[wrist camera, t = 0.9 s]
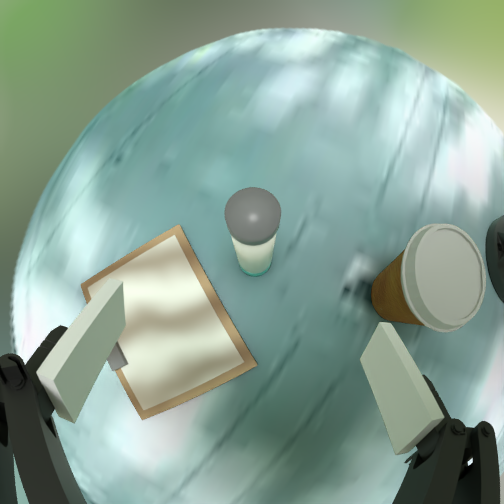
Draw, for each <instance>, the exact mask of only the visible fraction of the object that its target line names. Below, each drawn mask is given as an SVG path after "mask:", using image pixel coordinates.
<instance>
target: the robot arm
mask: <svg viewBox="0 0 504 504" xmlns="http://www.w3.org/2000/svg"><path fill="white" fill-rule="evenodd" d="M486 256H487V264H488V269H489V273H490V277H491V280H492V283H493V285H494V287H495V290H496V292H497V293H498V295H499V297H500V298H501V299H502V301H503V302H504V215H503V216H501V217H500V218H498V219H496V220H495V221H494V222H493V223H492V224H491V226H490V228H489V230H488V234H487V240H486ZM125 326H126V321H125V308H124V292H123V281H119V280H115V279H111V278H109V279H108V280H107V282H106V283H105V284H104V285H103V286H102V287H101V289H100V290H99V291H98V292H97V293H96V294H95V296H94V297H93V298H92V299H91V300H90V302H89V303H88V304H87V305H86V307H85V308H84V309H83V310H82V311H81V313H80V314H79V315H78V316H77V318H76V319H75V320H74V321H73V323H72V324H71V325H70V327H69V328H67V327H64V326H61V325H60V326H59V327H57V328H55V329H54V330H52V331H51V332H50V333H49V334H48V336H47V337H46V338H45V340H44V341H43V342H42V343H41V345H40V347H38V348H37V350H36V351H35V352H34V354H33V355H32V356H31V358H30V359H29V360H28V362H27V363H26V364H24V362H23V359H22V358H21V357H20V356H18V355H16V354H5V355H3V356H1V357H0V504H18V502H17V496H16V486H15V476H14V458H13V453H14V457H15V461H16V465H17V468H18V472H19V475H20V478H21V481H22V484H23V488H24V490H25V493H26V496H27V499H28V501H29V504H87V503H86V501H85V499H84V497H83V495H82V493H81V491H80V489H79V486H78V484H77V482H76V480H75V478H74V475H73V473H72V471H71V468H70V466H69V463H68V461H67V458H66V456H65V453H64V450H63V448H62V445H61V442H60V439H59V436H58V433H57V430H56V426H55V423H54V420H53V417H52V413H53V411H54V409H55V410H56V412H57V414H58V416H59V417H61V418H63V419H66V420H68V421H70V422H72V423H75V422H76V420H77V418H78V416H79V414H80V411H81V409H82V407H83V405H84V403H85V401H86V399H87V397H88V395H89V393H90V391H91V389H92V387H93V385H94V383H95V381H96V379H97V377H98V375H99V373H100V371H101V370H102V368H103V366H104V364H105V362H106V360H107V358H108V356H109V355H110V353H111V351H112V349H113V347H114V346H115V344H116V342H117V340H118V338H119V337H120V335H121V333H122V331H123V330H124V328H125ZM360 361H361V364H362V366H363V369H364V371H365V374H366V376H367V379H368V381H369V384H370V386H371V389H372V391H373V394H374V397H375V399H376V402H377V405H378V407H379V410H380V413H381V415H382V418H383V421H384V424H385V426H386V429H387V432H388V435H389V438H390V441H391V444H392V446H393V449H394V452H395V455H399V454H403V453H407V452H409V451H410V450H411V449H413V448H414V447H415V446H416V447H417V449H418V450H417V451H416V452H415V453H414V454H413V455H411V456H410V457H409V458H408V459H407V460H406V461H405V462H404V463H407V462H409V461H410V460H411V459H412V460H411V463H410V464H409V468H408V470H407V473H406V475H405V478H404V480H403V482H402V484H401V487H400V489H399V491H398V493H397V495H396V497H395V499H394V501H393V503H392V504H500V476H499V463H498V453H497V445H496V438H495V432H494V429H493V427H492V425H491V424H490V423H488V422H486V421H481V422H480V423H479V424H478V425H477V426H476V427H475V428H469V427H465V425H464V424H463V422H462V421H460V420H459V419H455V418H454V419H451V417H450V415H449V413H448V412H447V410H446V408H445V406H444V404H443V402H442V400H441V398H440V397H439V395H438V393H437V391H435V388H434V386H433V384H432V382H431V381H430V380H429V379H428V378H427V377H426V376H425V375H422V374H421V373H420V371H419V369H418V367H417V366H416V364H415V362H414V360H413V359H412V357H411V355H410V354H409V352H408V350H407V349H406V347H405V345H404V344H403V342H402V340H401V339H400V337H399V335H398V334H397V332H396V331H395V329H394V327H393V326H392V324H391V323H387V322H379V324H378V326H377V328H376V330H375V332H374V334H373V335H372V337H371V339H370V341H369V343H368V345H367V347H366V349H365V351H364V352H363V354H362V356H361V358H360ZM471 458H473V463H472V464H470V465H469V466H468V461H469V460H470V459H471Z"/></svg>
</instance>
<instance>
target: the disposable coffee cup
mask: <svg viewBox="0 0 504 504" xmlns="http://www.w3.org/2000/svg"><path fill="white" fill-rule="evenodd" d="M485 289H486V273H485V267H484V262H483V259H482V256H481V254H480V252H479V249H478V247H477V245H476V244H475V243H474V241H473V240H472V239H471V237H470V236H469V235H468V234H467V233H466V232H465V231H463V230H462V229H460V228H458V227H457V226H454V225H451V224H430V225H426V226H424V227H422V228H420V229H419V230H418V231H417V232H416V233H415V234H414V235H413V236H412V237H411V239H410V240H409V242H408V244H407V246H406V248H405V250H404V251H403V252H402V253H401V254H400V255H399V256H398V257H397V258H396V259H395V260H394V261H393V262H392V263H391V264H389V266H387V267H386V268H385V269H384V270H383V271H382V272H381V273H380V274H379V275H378V276H377V277H376V279H375V280H374V282H373V285H372V289H371V299H372V303H373V306H374V308H375V310H376V311H377V313H378V314H379V315H380V316H381V317H382V318H384V319H386V320H389V321H396V322H402V323H409V324H416V325H423V326H426V327H428V328H431V329H433V330H435V331H438V332H451V331H455V330H457V329H459V328H461V327H462V326H463V325H465V324H466V323H467V322H468V321H469V320H470V319H471V318H473V317H474V315H475V314H476V313H477V311H478V310H479V308H480V306H481V304H482V302H483V298H484V293H485Z"/></svg>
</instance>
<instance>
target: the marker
mask: <svg viewBox="0 0 504 504" xmlns="http://www.w3.org/2000/svg"><path fill="white" fill-rule="evenodd" d="M280 218H281V208H280V204H279V202H278V200H277V199H276V198H275V196H274V195H273V194H271V193H270V192H268V191H267V190H264V189H261V188H256V187H250V188H245V189H242V190H240V191H238V192H236V193H235V194H233V195H232V196H231V198H230V199H229V200H228V202H227V204H226V207H225V220H226V223H227V227H228V230H229V232H230V234H231V236H232V240H233V244H234V247H235V251H236V254H237V258H238V262H239V265H240V268H241V269H242V271H243V272H244V273H246V274H247V275H250V276H260V275H263V274H264V273H266V272H267V271H268V269H269V268H270V265H271V261H272V255H273V250H274V244H275V238H276V233H277V231H278V228H279V224H280Z"/></svg>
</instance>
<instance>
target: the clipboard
mask: <svg viewBox="0 0 504 504" xmlns="http://www.w3.org/2000/svg"><path fill="white" fill-rule="evenodd" d="M109 278H111V279H115V280H119V281H123V292H124V308H125V321H126V326H125V328H124V330H123V331H122V333H121V335H120V337H119V338H118V340H117V342H116V344H115V346H114V347H113V349H112V351H111V353H110V355H109V356H108V358H107V361H108V363H109V365H110V367H111V369H112V371H116V373H117V375H118V377H119V379H120V381H121V383H122V385H123V387H124V389H125V391H126V393H127V395H128V397H129V398H130V400H131V402H132V404H133V405H134V407H135V409H136V411H137V412H138V414H139V416H140V417H141V419H142V420H144V419H146V418H149V417H151V416H154V415H156V414H159V413H161V412H163V411H166V410H168V409H170V408H173V407H175V406H177V405H179V404H182V403H184V402H186V401H188V400H190V399H193V398H195V397H197V396H199V395H201V394H203V393H205V392H207V391H209V390H211V389H213V388H216V387H218V386H220V385H221V384H223V383H225V382H227V381H229V380H231V379H233V378H235V377H237V376H239V375H241V374H243V373H245V372H246V371H248V370H250V369H252V368H254V367H256V366H257V365H258V364H257V363H256V361H255V359H254V358H253V356H252V354H251V353H250V351H249V349H248V348H247V346H246V344H245V343H244V341H243V339H242V337H241V336H240V334H239V332H238V331H237V329H236V327H235V325H234V324H233V322H232V320H231V319H230V317H229V315H228V313H227V312H226V310H225V308H224V306H223V304H222V303H221V301H220V299H219V297H218V296H217V294H216V292H215V290H214V288H213V286H212V285H211V283H210V281H209V279H208V277H207V275H206V274H205V272H204V270H203V268H202V266H201V264H200V262H199V261H198V259H197V257H196V255H195V253H194V251H193V249H192V247H191V245H190V243H189V242H188V240H187V238H186V236H185V234H184V232H183V230H182V228H181V226H180V225H177V226H175V227H173V228H172V229H170V230H168V231H166V232H165V233H163V234H161V235H159V236H158V237H156V238H154V239H153V240H151V241H149V242H148V243H146V244H144V245H143V246H141V247H139V248H138V249H136V250H134V251H133V252H131V253H129V254H128V255H126V256H124V257H123V258H121V259H120V260H118V261H116V262H115V263H113V264H112V265H110V266H108V267H107V268H105V269H104V270H102V271H101V272H99V273H97V274H96V275H94V276H93V277H91V278H90V279H88V280H87V281H85V282H84V283H82V284H81V288H82V291H83V294H84V297H85V300H86V303H87V304H88V303H89V302H90V300H91V299H92V298H93V297H94V296H95V294H96V293H97V292H98V291H99V290H100V289H101V287H102V286H103V285H104V284H105V283H106V282H107V280H108V279H109Z"/></svg>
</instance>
